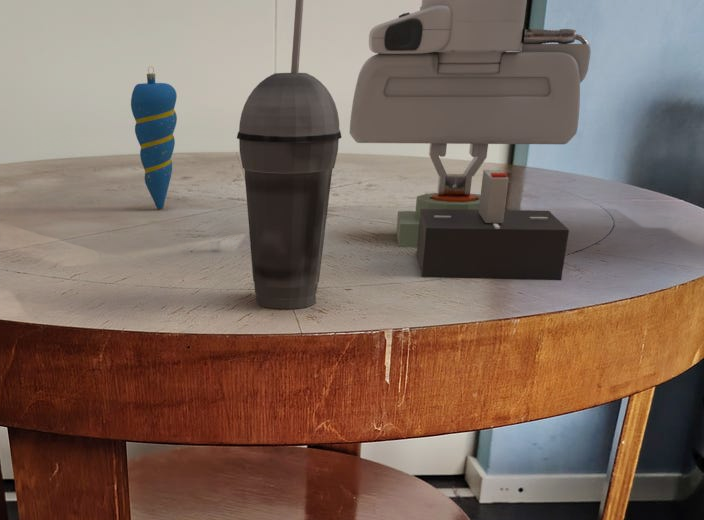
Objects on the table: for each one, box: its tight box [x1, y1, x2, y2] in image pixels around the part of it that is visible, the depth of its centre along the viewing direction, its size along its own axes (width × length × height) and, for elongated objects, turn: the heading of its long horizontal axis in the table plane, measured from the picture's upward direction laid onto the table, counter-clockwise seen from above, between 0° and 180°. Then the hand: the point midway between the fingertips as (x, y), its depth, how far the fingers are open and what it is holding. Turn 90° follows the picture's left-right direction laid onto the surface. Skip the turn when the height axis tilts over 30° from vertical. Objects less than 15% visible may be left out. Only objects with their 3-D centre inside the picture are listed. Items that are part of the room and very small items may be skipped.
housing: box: [396, 192, 481, 248], centre depth 86 cm, size 10×7×4 cm
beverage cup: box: [236, 0, 342, 310], centre depth 63 cm, size 7×7×20 cm
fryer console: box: [416, 209, 570, 281], centre depth 76 cm, size 11×9×4 cm
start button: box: [433, 193, 476, 202], centre depth 85 cm, size 4×4×2 cm
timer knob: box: [479, 169, 510, 223], centre depth 74 cm, size 5×1×4 cm, turn 172°
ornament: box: [130, 66, 178, 210], centre depth 102 cm, size 5×5×15 cm
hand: (453, 195), depth 85 cm, fingers closed, pressing on start button
